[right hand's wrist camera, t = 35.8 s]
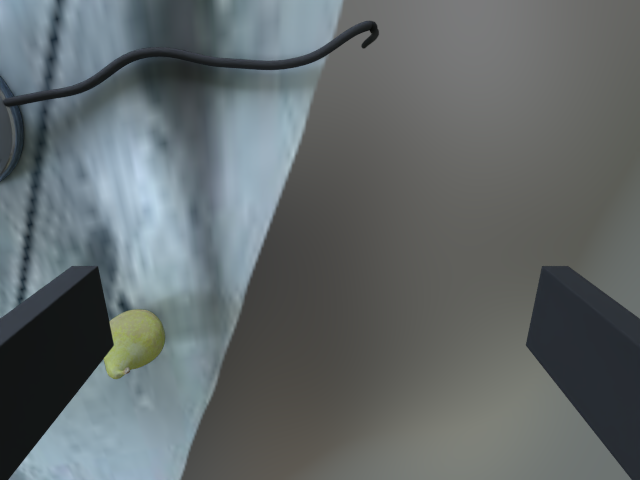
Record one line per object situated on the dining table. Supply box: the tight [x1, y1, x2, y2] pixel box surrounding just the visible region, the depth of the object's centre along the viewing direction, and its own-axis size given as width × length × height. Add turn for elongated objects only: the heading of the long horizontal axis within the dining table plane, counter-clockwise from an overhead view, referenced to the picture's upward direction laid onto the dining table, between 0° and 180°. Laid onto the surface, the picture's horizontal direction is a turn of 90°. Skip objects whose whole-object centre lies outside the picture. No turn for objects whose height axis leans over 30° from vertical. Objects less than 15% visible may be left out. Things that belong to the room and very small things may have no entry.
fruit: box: [104, 309, 165, 379], centre depth 46 cm, size 7×8×12 cm
